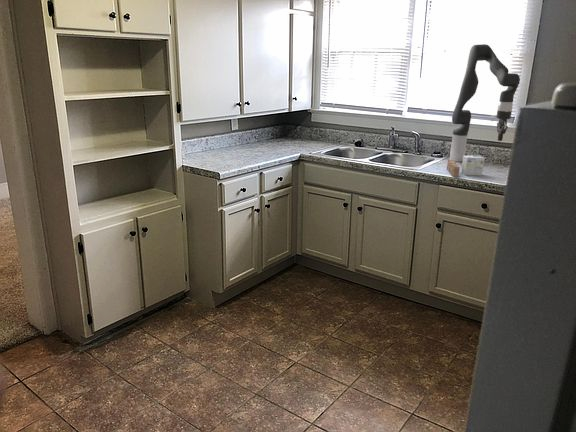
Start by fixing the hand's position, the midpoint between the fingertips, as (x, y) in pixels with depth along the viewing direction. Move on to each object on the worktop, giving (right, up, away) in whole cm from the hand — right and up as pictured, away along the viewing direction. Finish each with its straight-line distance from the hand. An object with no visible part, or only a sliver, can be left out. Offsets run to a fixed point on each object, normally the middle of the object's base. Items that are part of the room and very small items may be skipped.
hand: (499, 140), depth 276 cm
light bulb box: (-13, -19, +8) cm, 25 cm away
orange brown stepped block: (-24, -18, +9) cm, 32 cm away
